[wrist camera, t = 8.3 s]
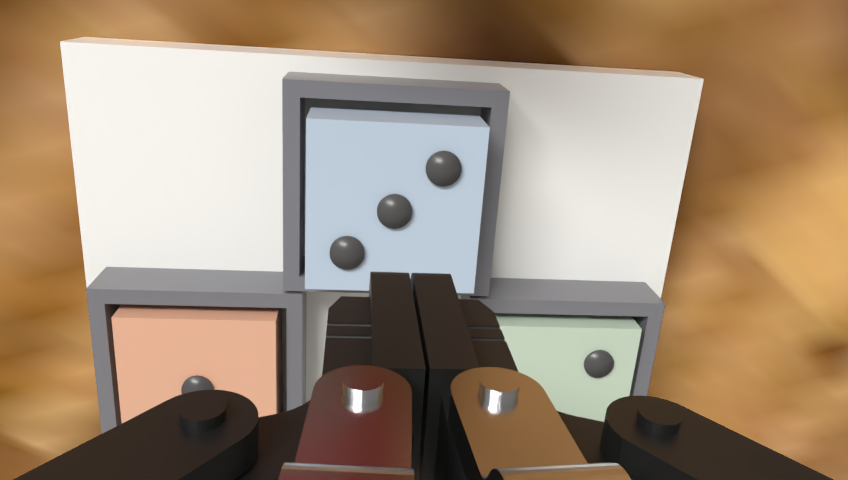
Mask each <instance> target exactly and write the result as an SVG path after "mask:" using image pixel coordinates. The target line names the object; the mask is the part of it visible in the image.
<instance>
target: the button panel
mask: <svg viewBox="0 0 848 480" xmlns="http://www.w3.org/2000/svg"><path fill="white" fill-rule="evenodd" d="M60 45H61V54H62V63H63V72H64V82H65V91H66V100H67V109H68V119H69V128H70V137H71V146H72V156H73V165H74V174H75V183H76V193H77V202H78V211H79V220H80V230H81V239H82V248H83V257H84V267H85V276H86V285H87V288H86V292H87V301H88V311H89V320H90V329H91V338H92V348H93V357H94V366H95V375H96V384H97V394H98V403H99V412H100V421H101V430H102V434H103V433H105V432H107V431H108V430H110V429H112V428H114V427H116V426H118V425H120V424H122V422H121V412H120V402H119V391H118V381H117V371H116V360H115V350H114V340H113V329H112V319H111V318H112V316H113V315H114V314H115V312H116V311H117V310H118V308H119V307H120V306H121V304H133V305H175V306H218V307H260V308H282V401H283V412H286V411H289V410H292V409H295V408H297V407H299V406H301V405H303V404H305V403H306V402H308V401H309V400H310V399H311V395H312V391H313V387H314V385H315V383H316V382H317V380H318V379H319V378H320V377H321V376H322V371H323V361H324V350H325V340H326V329H327V319H328V308H329V307H331V306H332V305H333V304H334V303H335V302H336V301H337V300H338V299H339V298H340V297H341V296H352V297H369V291H360V290H322V289H305V193H306V117H307V115H308V113H309V111H310V108H311V107H314V108H333V109H353V110H372V111H392V112H412V113H431V114H451V115H470V116H480V117H481V118H482V119H483V120H484V121H485V123H486V124H487V125H488V126H489V127H490V131H489V141H488V151H487V162H486V172H485V183H484V193H483V203H482V214H481V224H480V234H479V245H478V255H477V265H476V276H475V286H474V293H457V295H458V299H474V300H479V301H480V302H482V303H483V304H484V305H486V306H487V307H488V308H489V309H491V310H492V311H493V312H494V313H514V314H556V315H599V316H632V317H633V319H634V320H635V321H636V322H637V324H638V325H639V326H640V327H641V329H642V332H641V337H640V342H639V348H638V353H637V358H636V363H635V369H634V374H633V379H632V385H631V390H630V395H629V396H647V393H648V388H649V383H650V378H651V373H652V368H653V363H654V358H655V353H656V348H657V343H658V338H659V333H660V328H661V323H662V318H663V312H664V307H665V303H664V302H663V301H662V300H661V295H662V289H663V284H664V279H665V274H666V269H667V264H668V259H669V254H670V249H671V244H672V239H673V233H674V228H675V223H676V218H677V213H678V208H679V203H680V198H681V193H682V188H683V182H684V177H685V172H686V167H687V162H688V157H689V152H690V147H691V142H692V137H693V132H694V126H695V121H696V116H697V111H698V106H699V101H700V96H701V91H702V86H703V81H704V79H702V78H699V77H695V76H691V75H688V74H684V73H681V72H673V71H656V70H640V69H623V68H606V67H589V66H572V65H555V64H538V63H521V62H504V61H487V60H470V59H453V58H436V57H419V56H402V55H385V54H368V53H351V52H334V51H317V50H300V49H283V48H266V47H249V46H232V45H215V44H198V43H181V42H164V41H147V40H130V39H113V38H96V37H82V38H77V39H71V40H66V41H61V42H60Z"/></svg>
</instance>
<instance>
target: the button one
mask: <svg viewBox="0 0 848 480" xmlns="http://www.w3.org/2000/svg"><path fill="white" fill-rule="evenodd" d="M111 319H112V329H113V340H114V350H115V360H116V371H117V381H118V391H119V402H120V412H121V422H122V423H124V422H126V421H128V420H130V419H132V418H134V417H136V416H137V415H139V414H141V413H143V412H145V411H147V410H149V409H151V408H153V407H155V406H157V405H159V404H161V403H163V402H165V401H167V400H169V399H171V398H173V397H175V396H178V395H181V394H184V393H188V392H193V391H200V390H225V391H230V392H234V393H238V394H240V395H243V396H245V397H246V398H248V399H250V400H251V401H252V402H253V403H254V404H255V406H256V407H257V410H258V417H263V416H268V415H273V414H278V413H282V412H283V401H282V308H260V307H218V306H175V305H133V304H121V306H120V307H119V308H118V310H117V311H116V312H115V314H114V315H113V316H112V318H111Z"/></svg>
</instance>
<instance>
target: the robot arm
mask: <svg viewBox="0 0 848 480" xmlns="http://www.w3.org/2000/svg"><path fill="white" fill-rule="evenodd" d="M14 480H833V479H831V478H829V477H827V476H825V475H823V474H821V473H819V472H817V471H815V470H812V469H810V468H808V467H806V466H804V465H802V464H800V463H798V462H796V461H794V460H792V459H790V458H788V457H786V456H784V455H782V454H780V453H777V452H775V451H773V450H771V449H769V448H767V447H765V446H763V445H761V444H759V443H757V442H755V441H753V440H751V439H749V438H747V437H745V436H743V435H740V434H738V433H736V432H734V431H732V430H730V429H728V428H726V427H724V426H722V425H720V424H718V423H716V422H714V421H712V420H710V419H708V418H706V417H703V416H701V415H699V414H697V413H695V412H693V411H691V410H689V409H687V408H685V407H683V406H681V405H678V404H676V403H674V402H671V401H668V400H664V399H660V398H656V397H650V396H627V397H622V398H619V399H617V400H615V401H613V402H612V403H611V404H610V405H609V406H608V407H607V410H606V414H605V420H604V422H602V421H598V420H593V419H588V418H583V417H578V416H573V415H569V414H566V413H563V412H560V411H557V410H556V409H555V407H554V405H553V404H552V402H551V400H550V398H549V397H548V395H547V393H546V392H545V390H544V389H543V387H542V386H541V385H540V384H539V383H538V382H537V381H535V380H534V379H532V378H531V377H529V376H527V375H525V374H522V373H520V372H518V369H517V367H516V364H515V362H514V360H513V357H512V355H511V352H510V350H509V347H508V345H507V342H506V341H505V338H504V335H503V333H502V330H501V329H500V325H499V323H498V320H497V318H496V316H495V313H494V312H493V311H492V310H491V309H489V308H488V307H487V306H486V305H484V304H483V303H482V302H480V301H479V300H474V299H458V295H457V292H456V289H455V286H454V283H453V279H452V276H451V274H442V273H412V274H411V279H410V275H409V273H404V272H370V283H369V297H352V296H341V297H340V298H339V299H338V300H337V301H336V302H335V303H334V304H333V305H332V306H331V307H329V308H328V319H327V329H326V340H325V350H324V361H323V371H322V376H321V377H320V378H319V379H318V380H317V382H316V383H315V385H314V387H313V391H312V395H311V399H310V400H309V401H308V402H306V403H305V404H303V405H301V406H299V407H297V408H295V409H292V410H289V411H286V412H282V413H278V414H273V415H268V416H263V417H258V410H257V407H256V406H255V404H254V403H253V402H252V401H251V400H250V399H248V398H246V397H245V396H243V395H240V394H238V393H234V392H230V391H225V390H200V391H193V392H188V393H184V394H181V395H178V396H175V397H173V398H171V399H169V400H167V401H165V402H163V403H161V404H159V405H157V406H155V407H153V408H151V409H149V410H147V411H145V412H143V413H141V414H139V415H137V416H136V417H134V418H132V419H130V420H128V421H126V422H124V423H122V424H120V425H118V426H116V427H114V428H112V429H110V430H108V431H107V432H105V433H103V434H101V435H99V436H97V437H95V438H93V439H91V440H89V441H87V442H85V443H83V444H81V445H79V446H77V447H76V448H74V449H72V450H70V451H68V452H66V453H64V454H62V455H60V456H58V457H56V458H54V459H52V460H50V461H48V462H47V463H45V464H43V465H41V466H39V467H37V468H35V469H33V470H31V471H29V472H27V473H25V474H23V475H21V476H19V477H17V478H16V479H14Z"/></svg>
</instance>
